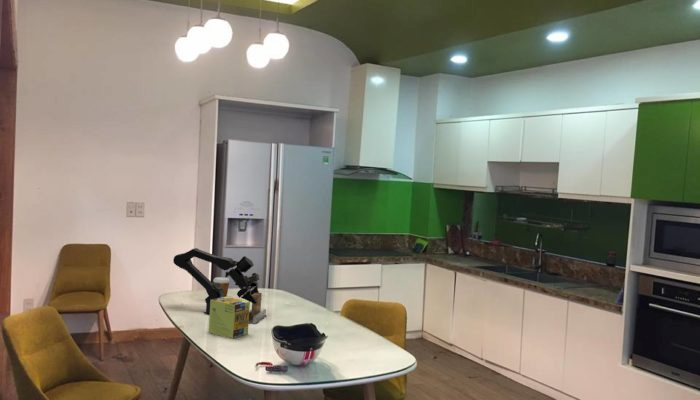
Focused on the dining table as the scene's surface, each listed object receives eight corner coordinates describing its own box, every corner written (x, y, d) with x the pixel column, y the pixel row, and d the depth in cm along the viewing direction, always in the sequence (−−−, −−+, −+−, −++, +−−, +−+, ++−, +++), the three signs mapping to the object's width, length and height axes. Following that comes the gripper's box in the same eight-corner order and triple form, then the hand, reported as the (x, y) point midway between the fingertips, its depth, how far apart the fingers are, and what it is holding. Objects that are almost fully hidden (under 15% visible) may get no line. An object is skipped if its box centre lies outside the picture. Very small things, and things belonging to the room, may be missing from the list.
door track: (241, 322, 288) (241, 315, 288) (252, 314, 306) (252, 307, 306) (255, 324, 287) (256, 317, 287) (266, 316, 305) (266, 309, 305)
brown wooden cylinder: (226, 301, 333) (228, 280, 333) (210, 300, 333) (211, 279, 333) (230, 297, 342) (231, 277, 342) (214, 296, 343) (215, 276, 342)
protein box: (233, 339, 260) (235, 304, 259) (208, 332, 268) (209, 299, 267) (248, 334, 269) (250, 301, 268) (224, 328, 277) (225, 295, 276)
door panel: (251, 317, 297) (252, 294, 296) (254, 315, 303) (256, 292, 302) (256, 318, 296) (258, 295, 296) (260, 315, 302) (261, 292, 302)
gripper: (244, 271, 290) (264, 295, 289) (255, 265, 308) (274, 288, 307) (228, 285, 291) (248, 309, 290) (240, 279, 310) (259, 301, 309)
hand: (258, 301), depth 299 cm, fingers open, 9 cm apart
